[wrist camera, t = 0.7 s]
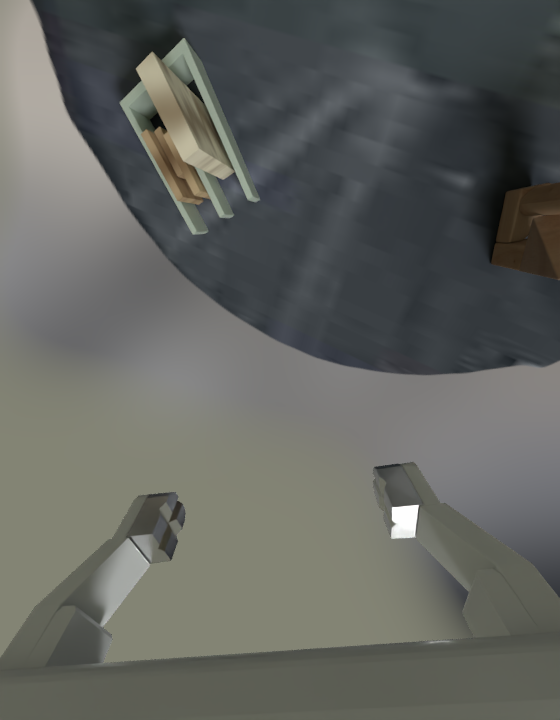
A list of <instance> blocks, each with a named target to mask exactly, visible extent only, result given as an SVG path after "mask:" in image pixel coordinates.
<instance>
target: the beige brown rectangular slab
mask: <svg viewBox="0 0 560 720" xmlns="http://www.w3.org/2000/svg"><path fill="white" fill-rule="evenodd" d="M136 70H137V72H138V74H139V76H140V78H141V80H142V82H143V84H144V86H145V88H146V90H147V92H148V94H149V96H150V98H151V100H152V101H153V103H154V105H155V107H156V109H157V111H158V113H159V115H160V117H161V119H162V121H163V123H164V125H165V127H166V129H167V131H168V133H169V135H170V137H171V139H172V141H173V142H174V144H175V146H176V148H177V150H178V152H179V154H180V156H181V158H182V160H183V161H184V162H186V163H188V164H190V165H192V166H195V167H197V168H199V169H201V170H203V171H205V172H208V173H210V174H212V175H214V176H216V177H218V178H221V179H223V180H224V179H225V178H227V177H228V176H230V175H231V174H232V173H234V172H235V170H234V168H233V165H232V163H231V161H230V159H229V156H228V154H227V152H226V150H225V147H224V145H223V143H222V141H221V138H220V136H219V134H218V132H217V129H216V127H215V125H214V123H213V120H212V118H211V116H210V114H209V111H208V109H207V107H206V106H205V105H204V104H203V102H202V101H201V100H200V99H199V98H198V97H197V96H196V95H195V94H194V93H193V92H192V91H191V90H190V89H189V88H188V87H187V86H186V85H185V84H184V83H183V82H182V81H181V80H180V79H179V78H178V77H177V76H176V75H175V74H174V73H173V72H172V71H171V70H170V69H169V68H168V67H167V66H166V65H165V64H164V63H163V62H162V61H161V60H160V59H159V58H158V57H157V56H156V54H155V53H154V52H153V51H152V52H151V53H150V54H149V55H148V56H147V57H146V59H145V60H144V61H143V62H142V63H141V64H140V65H139V66H138V67H137V68H136Z"/></svg>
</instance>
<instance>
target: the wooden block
mask: <svg viewBox="0 0 560 720" xmlns="http://www.w3.org/2000/svg"><path fill="white" fill-rule="evenodd" d="M542 215H545V216H542ZM527 236H528V239H525V238H526V237H527ZM496 242H497V243H495V246H494V251H493V256H492V261H491V264H493V265H498V266H502V267H506V268H511V269H515V270H519V271H523V272H527V273H531V274H536V275H540V276H544V277H549V278H553V279H557V280H560V183H554V184H551V183H545V184H540V185H534V186H529V187H525V188H520V189H515V190H510V191H508V192H506V194H505V199H504V204H503V209H502V213H501V218H500V223H499V228H498V233H497V237H496Z"/></svg>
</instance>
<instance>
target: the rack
mask: <svg viewBox="0 0 560 720" xmlns="http://www.w3.org/2000/svg"><path fill="white" fill-rule="evenodd" d="M161 61H162V62H163V63H164V64H165V65H166V66H167V67H168V68H169V69H170V70H171V71H172V72H173V73H174V74H175V75H176V76H177V77H178V78H179V79H180V80H181V81H182V82H183V83H184V84H185V85H186V86H187V85H188V84H189V83H191V82H192V81H193V80H195V82H196V84H197V87H198V89H199V91H200V93H201V96H202V98H203V100H204V102H205V105H206V107H207V109H208V111H209V114H210V116H211V118H212V120H213V123H214V125H215V127H216V129H217V132H218V134H219V136H220V138H221V141H222V143H223V145H224V147H225V150H226V152H227V154H228V156H229V159H230V161H231V163H232V165H233V168H234V170H235V172H236V174H237V177H238V179H239V181H240V183H241V186H242V188H243V190H244V192H245V195H246V197H247V199H248V200H250V201H253V202H257V201H259V200H260V198H259V196H258V193H257V191H256V189H255V186H254V184H253V181H252V179H251V177H250V174H249V172H248V170H247V167H246V165H245V163H244V160H243V158H242V156H241V153H240V151H239V149H238V146H237V144H236V142H235V139H234V137H233V134H232V132H231V130H230V127H229V125H228V123H227V120H226V118H225V116H224V113H223V111H222V109H221V106H220V104H219V102H218V99H217V97H216V95H215V92H214V90H213V88H212V85H211V83H210V80H209V78H208V76H207V73H206V71H205V69H204V66H203V64H202V62H201V60H200V59H199V57H198V56H197V55H196V53H195V52H194V50H193V49H192V48H191V46H190V45H189V44H188V42H187V41H186V40H185V38H183V39H182V40H181V41H180V42H179V43H178V44H177V45H176V46H175V47H174V48H173V49H172V50H171V51H170V52H169V53H168V54H167V55H166V56H165V57H164V58H163V59H162V60H161ZM120 105H121V106H122V108H123V110H124V112H125V114H126V115H127V117H128V119H129V121H130V123H131V124H132V126H133V128H134V130H135V132H136V133H137V135H138V137H139V139H140V141H141V142H142V144H143V146H144V148H145V150H146V151H147V153H148V155H149V157H150V159H151V160H152V162H153V164H154V166H155V168H156V169H157V171H158V173H159V175H160V177H161V178H162V180H163V182H164V184H165V186H166V187H167V189H168V191H169V193H170V195H171V196H172V198H173V200H174V202H175V204H176V205H177V207H178V209H179V211H180V213H181V214H182V216H183V218H184V220H185V221H186V223H187V225H188V227H189V229H190V230H191V232H192V234H193V235H194V234H205V233H207V232H208V229H207V227H206V225H205V223H204V221H203V219H202V217H201V215H200V214H199V212H198V210H197V208H196V206H195V204H192V203H186V202H180V201H177V199H176V197H175V196H174V194H173V192H172V190H171V188H170V187H169V185H168V183H167V181H166V179H165V177H164V176H163V174H162V172H161V170H160V168H159V167H158V165H157V163H156V161H155V159H154V158H153V156H152V154H151V152H150V150H149V148H148V147H147V145H146V143H145V141H144V139H143V138H142V136H141V133H143V132H144V131H145V130H146V129H147V130H149V131H151V132H153V133H154V131H155V128H154V127H153V125H152V123H151V121H150V119H151V118H152V117H153V116H154V115H156V114H157V113H158V111H157V109H156V107H155V105H154V103H153V101H152V100H151V98H150V96H149V94H148V92H147V90H146V88H145V86H144V84H143V82H142V81H141V82H140V83H139V84H138V85H137V86H136V87H135V88H134V89H133V90H132V91H131V92H130V93H129V94H128V95H127V96H126V97H125V98H124V99H123V100H122V101H121V102H120ZM194 167H195V166H194ZM195 169H196V171H197V173H198V175H199V177H200V179H201V181H202V183H203V185H204V187H205V189H206V191H207V193H208V195H209V197H210V199H211V201H212V203H213V205H214V207H215V209H216V211H217V213H218V215H219V217H221V218H231V217H233V216H234V214H233V212H232V210H231V208H230V206H229V203H228V201H227V199H226V197H225V195H224V193H223V191H222V189H221V187H220V185H219V182H218V180H217V178H216V176H214V175H212V174H210V173H208V172H205V171H203V170H201V169H199V168H197V167H195Z"/></svg>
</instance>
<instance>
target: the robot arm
mask: <svg viewBox="0 0 560 720" xmlns="http://www.w3.org/2000/svg"><path fill="white" fill-rule="evenodd" d="M373 475H374V477H375V479H374V481H373V488H374V493H375V497H376V500H377V503H378V506H379V508H381V509H382V510H383V511H384V522H385V524H386V527H387V529H388V532H389V534H390V537H391V539H397V538H411V537H416V539H417V540H418V541H419V542H420V543H421V544H422V545H423V546H424V547H425V548H426V549H427V550H428V551H429V552H430V553H431V554H432V555H433V556H434V557H435V558H436V559H437V560H438V561H439V562H440V563H441V564H442V565H443V566H444V567H445V568H446V569H447V570H448V571H449V572H450V573H451V574H452V575H453V576H454V577H455V578H456V579H457V580H458V581H459V582H460V583H461V584H462V586H464V588H466V590H467V591H469V595H468V598H467V600H466V603H465V606H464V609H463V612H462V613H463V615H464V617H465V619H466V622H467V624H468V626H469V628H470V630H471V632H472V634H473V636H474V638H464V639H448V640H434V641H419V642H404V643H390V644H375V645H361V646H347V647H346V646H345V647H331V648H316V649H303V650H302V649H301V650H287V651H272V652H258V653H243V654H228V655H213V656H200V657H184V658H169V659H154V660H140V661H125V662H111V663H103V661H104V659H105V657H106V654H107V652H108V649H109V647H110V644H111V642H112V634H110V633H109V632H108V631H107V630H105V629H104V628H103V626H104V625H105V624H106V622H107V621H108V620H109V618H110V617H111V616H112V614H113V613H114V612H115V611H116V609H117V608H118V607H119V605H120V604H121V603H122V601H123V600H124V599H125V597H126V596H127V595H128V594H129V592H130V591H131V590H132V588H133V587H134V586H135V584H136V583H137V582H138V580H139V579H140V578H141V577H142V575H143V574H144V573H145V571H146V570H147V569H148V567H149V566H150V564H151V563H159V562H165V561H171V560H172V557H173V554H174V551H175V548H176V545H177V542H178V540H177V536H176V535H177V534H178V533H179V532H180V531H181V530H182V527H183V524H184V521H185V508H184V506H183V504H182V503H180V502H179V501H177V500H178V495H177V494H176V492H169V493H158V494H148V495H141V496H138V497H137V498H136V499H135V500H134V501H133V503H132V505H131V507H130V508H129V510H128V512H127V514H126V515H125V517H124V519H123V520H122V522H121V524H120V526H119V527H118V529H117V531H116V533H115V534H114V536H113V538H112V539H110V540H108V541H106V542H105V543H104V544H103V545H102V546H101V547H100V548H99V549H98V550H97V551H95V552H94V553H93V554H92V555H91V556H90V557H89V558H88V559H87V560H86V561H85V562H83V563H82V564H81V565H80V566H79V567H78V568H77V569H76V570H75V571H74V572H72V573H71V574H70V575H69V576H68V577H67V578H66V579H65V580H64V581H63V582H62V583H60V584H59V585H58V586H57V587H56V588H55V589H54V590H53V591H52V592H51V593H50V594H48V596H46V597H45V598H44V599H43V600H42V601H41V602H40V603H39V604H38V605H36V606H35V607H34V609H33V610H32V612H31V613H30V615H29V616H28V618H27V619H26V621H25V622H24V624H23V625H22V627H21V628H20V630H19V631H18V633H17V634H16V636H15V637H14V638H13V640H12V641H11V643H10V644H9V646H8V648H7V649H6V650H5V652H4V653H3V655H2V656H1V658H0V720H560V598H559V597H558V596H557V595H556V593H555V592H554V591H553V589H552V588H551V587H550V586H549V584H548V583H547V582H546V581H545V579H544V578H543V577H542V576H541V574H540V573H539V572H538V570H537V569H536V568H535V567H534V566H533V564H532V563H530V562H529V561H527V560H526V559H525V558H523V557H522V556H520V555H519V554H517V553H516V552H515V551H513V550H512V549H510V548H509V547H507V546H506V545H504V544H503V543H502V542H500V541H499V540H497V539H496V538H494V537H493V536H492V535H490V534H488V533H487V532H485V531H484V530H483V529H482V528H480V527H478V526H477V525H476V524H474V523H473V522H472V521H470V520H469V519H467V518H466V517H464V516H463V515H461V514H460V513H459V512H457V511H456V510H454V509H453V508H451V507H450V506H449V505H447V504H446V503H440V501H439V500H438V498H437V497H436V495H435V494H434V492H433V490H432V489H431V487H430V486H429V484H428V482H427V481H426V479H425V478H424V476H423V474H422V473H421V471H420V470H419V468H418V467H417V465H416V464H415V463H413V462H410V463H403V464H392V465H385V466H378V467H374V468H373Z"/></svg>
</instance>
